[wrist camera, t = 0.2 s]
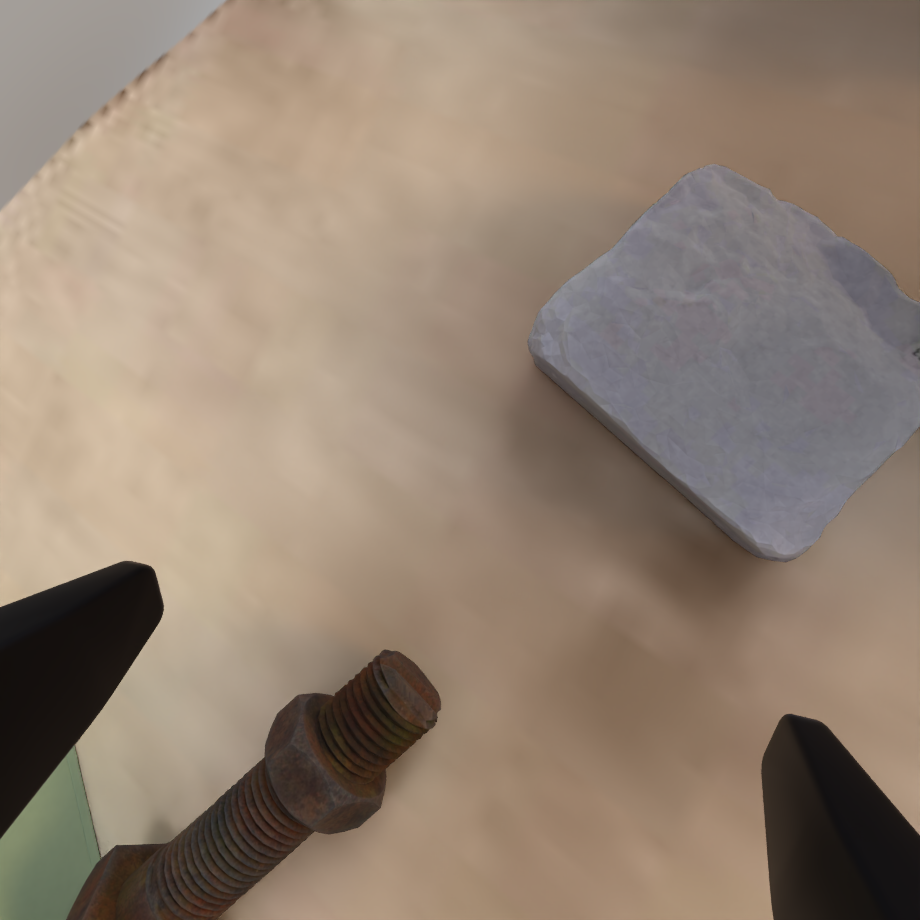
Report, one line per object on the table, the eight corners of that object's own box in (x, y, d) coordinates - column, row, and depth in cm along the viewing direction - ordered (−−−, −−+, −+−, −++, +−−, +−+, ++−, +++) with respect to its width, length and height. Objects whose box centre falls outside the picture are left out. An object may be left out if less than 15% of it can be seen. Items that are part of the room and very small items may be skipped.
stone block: (669, 204, 24) (506, 371, 23) (713, 113, 19) (510, 316, 18) (915, 389, 22) (748, 583, 21) (1031, 336, 17) (823, 583, 16)
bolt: (451, 670, 24) (201, 892, 26) (366, 597, 23) (104, 836, 24) (477, 779, 19) (157, 1057, 20) (368, 692, 17) (27, 998, 18)
